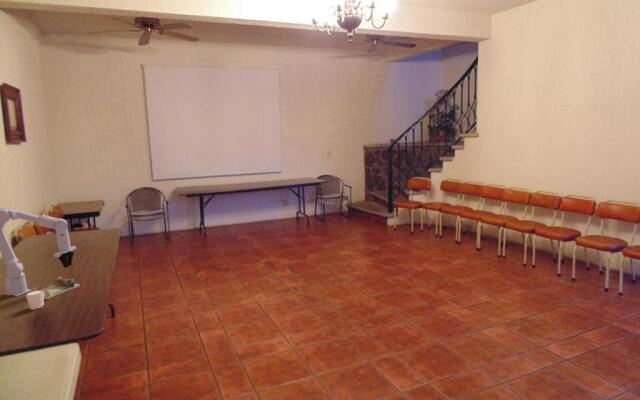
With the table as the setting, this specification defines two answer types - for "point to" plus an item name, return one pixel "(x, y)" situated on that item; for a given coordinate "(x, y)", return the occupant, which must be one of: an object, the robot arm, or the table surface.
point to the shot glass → (35, 299)
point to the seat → (55, 290)
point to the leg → (64, 282)
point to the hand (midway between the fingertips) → (67, 266)
